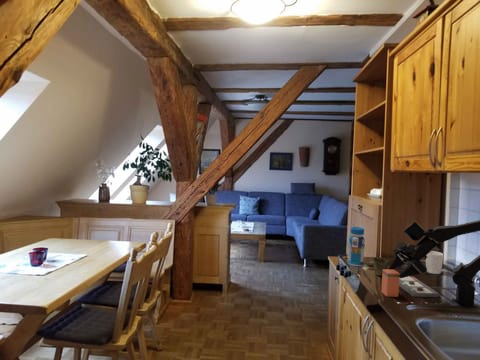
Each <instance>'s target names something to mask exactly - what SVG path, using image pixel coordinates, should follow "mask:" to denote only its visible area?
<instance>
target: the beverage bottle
mask: <svg viewBox="0 0 480 360" xmlns="http://www.w3.org/2000/svg"><path fill="white" fill-rule="evenodd" d="M364 234H365V228H363V227H359V226H351V228H350V236H349V238H348V241H349V242H348V252H347V253H348V255H347V264H348V265H350V266H353V267H362V266H364V258H365V249H366V248H365V247H366V245H365V242H366V240H365V238H364Z"/></svg>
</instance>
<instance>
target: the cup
mask: <svg viewBox="0 0 480 360" xmlns="http://www.w3.org/2000/svg"><path fill="white" fill-rule="evenodd" d="M372 263H373V264H372V265H373V269H374V271H375V273H376V276H379V277H382V273H383V272H382V271H383V269H389V266H390V265H389V264H390V260H389V259H387V258H386V259H385V258H384V257H379V258H377V257H373V258H372Z"/></svg>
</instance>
